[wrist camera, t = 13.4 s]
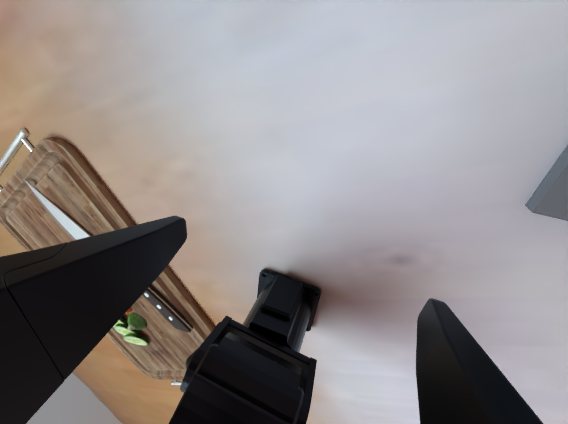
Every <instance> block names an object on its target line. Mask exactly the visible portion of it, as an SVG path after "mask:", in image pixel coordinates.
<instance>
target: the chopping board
mask: <svg viewBox="0 0 568 424" xmlns="http://www.w3.org/2000/svg"><path fill="white" fill-rule="evenodd" d="M28 135H29V133H28V132H27V130H26V129H25V128H22V129H20V131H19V132H18V134H17V135H16V137H15V138H14V140H13V141H12V143H11V144H10V146H9V147H8V149H7V151H6V152H5V154H4V155H3V157H2V158H1V160H0V174H1V173H2V171H3V170H4V169H5V167H6V166H7V164H8V163H9V162H10V160H11V159H12V157H13V156H14V155H15V153H16V152H17V150H18V149H19V148H20V146H21V145H22V143H24V144H25V145H26V146H27V147H28V149H29V150H30V151H31V153H30V154H29V156H28V157H27V158H26V160H25V161H24V162H23V163H22V165H21V166H20V167H19V169H18V170H17V171H16V172H15V174H14V175H13V176H12V177H11V179H10V180H9V181H8V183H7V184H6V185H5V186H4V188H2V187H1V186H0V223H1V224H2V226H3V227H4V228H5V229H6V230H7V231H8V232H9V233H10V234H11V235H12V236H13V237H14V238H15V239H16V240H17V241H18V243H19V244H20V245H21V246H22V247H23V248H24V249H25V250H26V251H32V250H36V249H40V248H45V247H49V246H53V245H57V244H61V243H65V242H70V241H74V240H78V239H82V238H86V237H90V236H94V235H98V234H102V233H106V232H110V231H114V230H118V229H122V228H126V227H130V226H135V225H134V223H133V222H132V221H131V219H130V218H129V217H128V216H127V214H126V213H125V212H124V210H123V209H122V208H121V207H120V205H119V204H118V203H117V201H116V200H115V199H114V198H113V196H112V195H111V194H110V192H109V191H108V190H107V189H106V187H105V186H104V185H103V183H102V182H101V181H100V180H99V178H98V177H97V176H96V174H95V173H94V172H93V171H92V169H91V168H90V167H89V165H88V164H87V163H86V162H85V160H84V159H83V158H82V156H81V155H80V154H79V153H78V152H77V151H76V150H75V149H74V148H73V147H72V146H71V145H70V144H68V143H67V142H65V141H64V140H62V139H59V138H54V137H51V138H47V139H44V140H42V141H40V142H39V143H38V144H37V145H36V147H35V148H34V147H33V146H32V145H31V144H30V142H29V141H28V140H27V139H26V138H27V136H28ZM214 328H215V327H214V326H213V325H212V323H211V322H210V321H209V320H208V318H207V317H206V316H205V314H204V313H203V312H202V311H201V309H200V308H199V307H198V305H197V304H196V303H195V302H194V300H193V299H192V298H191V296H190V295H189V294H188V293H187V291H186V290H185V289H184V287H183V286H182V285H181V284H180V282H179V281H178V280H177V278H176V277H175V276H174V275H173V273H172V272H171V271H170V269H169V268H168V267H166V268H165V269H164V271H163V272H162V273H161V274H160V275H159V276H158V278H157V279H156V280H155V281H154V282H153V283H152V284H151V285H150V286H149V287H148V289H147V290H146V291H145V292H144V293H143V294H142V295H141V296H140V297H139V299H138V300H137V301H136V302H135V303H134V304H133V305H132V306H131V307H130V309H129V310H128V311H127V312H126V313H125V314H124V315H123V316H122V317H121V318H120V320H119V321H118V322H117V323H116V324H115V325H114V326H113V327H112V328H111V330H110V331H109V332H108V333H107V334H106V335H107V336H108V337H109V338H110V339H111V340H112V341H113V342H114V343H115V345H116V346H117V347H118V348H119V349H120V350H121V351H122V352H123V353H124V354H125V355H126V356H127V357H128V358H129V359H130V360H131V361H132V362H133V363H134V365H135V366H136V367H137V368H138V369H139V370H141V371H142V372H143V373H144V374H146V375H147V376H149V377H151V378H154V379H162V380H173V381H172V385H178V386H181V384H182V381H177V380H183V378H184V376H185V373H186V365H185V363H186V360H187V359H188V357H189V356H190V355H191V354H192V353H193V352H194V351H195V350H197V349H198V348H199V347H200V345H201V344H202V343H203V342H204V340H205V339H206V338H207V337H208V336H209V334H210V333H211V332H212V331H213V329H214Z"/></svg>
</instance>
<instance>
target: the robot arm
mask: <svg viewBox="0 0 568 424" xmlns="http://www.w3.org/2000/svg"><path fill="white" fill-rule="evenodd" d="M186 238H187V229H186V221H185V219H184V218H181V217H178V216H171V217H167V218H163V219H159V220H155V221H151V222H147V223H143V224H139V225H135V226H130V227H126V228H122V229H118V230H114V231H110V232H106V233H102V234H98V235H94V236H90V237H86V238H82V239H78V240H74V241H70V242H65V243H61V244H57V245H53V246H49V247H45V248H40V249H36V250H32V251H27V252H22V253H17V254H12V255H7V256H2V257H0V424H26V423H27V422H28V421H29V420H30V418H31V417H32V416H33V415H34V414H35V413H36V412H37V411H38V410H39V408H40V407H41V406H42V405H43V404H44V403H45V402H46V401H47V400H48V398H49V397H50V396H51V395H52V394H53V393H54V392H55V391H56V390H57V388H58V387H59V386H60V385H61V384H62V383H63V382H64V379H66V378H67V377H68V376H69V375H70V374H71V373H72V372H73V371H74V369H75V368H76V367H77V366H78V365H79V364H80V363H81V362H82V361H83V359H84V358H85V357H86V356H87V355H88V354H89V353H90V352H91V351H92V349H93V348H94V347H95V346H96V345H97V344H98V343H99V342H100V341H101V340H102V338H103V337H104V336H105V335H106V334H107V333H108V332H109V331H110V330H111V328H112V327H113V326H114V325H115V324H116V323H117V322H118V321H119V320H120V318H121V317H122V316H123V315H124V314H125V313H126V312H127V311H128V310H129V309H130V307H131V306H132V305H133V304H134V303H135V302H136V301H137V300H138V299H139V297H140V296H141V295H142V294H143V293H144V292H145V291H146V290H147V289H148V287H149V286H150V285H151V284H152V283H153V282H154V281H155V280H156V279H157V278H158V276H159V275H160V274H161V273H162V272H163V271H164V269H165V268H166V267H167V265H168V264H169V263H170V261H171V260H172V259H173V257H174V256H175V254H176V253H177V252H178V250H179V249H180V248H181V246H182V245H183V244H184V242H185V241H186ZM316 292H317V293H316ZM320 295H321V290H320V289H319V288H318V287H315V286H312V285H309V284H306V283H303V282H300V281H297V280H295V279H292V278H289V277H286V276H283V275H280V274H277V273H274V272H271V271H269V270H265V269H263V270H261V272H260V275H259V285H258V295H257V300H256V302H255V304H254V305H253V307H252V309H251V311H250V312H249V314H248V316H247V318H246V320H245V321H244V323H243V325H242V324H240V323H238V322H236V321H234V320H232V318H231V317H229V316H226V317H225V318H224V319H223V320H222V322H219V323H218V325H217V326H216V327H215V328H214V329H213V331H212V332H211V333H210V334H209V336H208V337H207V338H206V339H205V340H204V342H203V343H202V344H201V345H200V347H199V348H198V349H197V350H195V351H194V352H193V353H192V354H191V355H190V356H189V357H188V359H187V360H186V363H185V365H186V373H185V376H184V378H183V381H182V384H181V388H180V390H181V391H182V392H184V394H183V396H182V398H181V400H180V402H179V404H178V406H177V408H176V410H175V412H174V414H173V416H172V418H171V420H170V422H169V424H306V421H307V418H308V414H309V409H310V404H311V398H312V391H313V384H314V377H315V369H316V362H317V360H315V359H313V358H309V357H307V356H305V355H303V354H301V353H299V351H300V348H301V345H302V342H303V338H304V335H305V332H306V331H310V330H311V326H312V323H313V319H314V316H315V312H316V309H317V305H318V302H319V299H320ZM416 377H417V389H418V401H419V413H420V424H543V423H542V421H541V420H540V419H539V418H538V416H537V415H536V414H535V413H534V412H533V410H532V409H531V408H530V407H529V405H528V404H527V403H526V402H525V400H524V399H523V398H522V397H521V396H520V394H519V393H518V392H517V391H516V389H515V388H514V387H513V386H512V384H511V383H510V382H509V381H508V380H507V378H506V377H505V376H504V375H503V373H502V372H501V371H500V370H499V368H498V367H497V366H496V365H495V364H494V362H493V361H492V360H491V359H490V357H489V356H488V355H487V354H486V353H485V351H484V350H483V349H482V348H481V346H480V345H479V344H478V343H477V341H476V340H475V339H474V338H473V337H472V335H471V334H470V333H469V332H468V330H467V329H466V328H465V327H464V325H463V324H462V323H461V322H460V321H459V319H458V318H457V317H456V316H455V314H454V313H453V312H452V311H451V309H450V308H449V307H448V306H447V305H446V304H445V303H444V302H442V301H439V300H436V299H429V300H428V301H427V303H426V304H425V306H424V308H423V309H422V311H421V312H420V314H419V316H418V321H417V348H416Z"/></svg>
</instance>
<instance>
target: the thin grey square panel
mask: <svg viewBox="0 0 568 424" xmlns="http://www.w3.org/2000/svg"><path fill="white" fill-rule="evenodd" d="M525 206H526V207H527V208H528V209H530V210H531V211H532V212H533V213H537V214H541V215H545V216H549V217H554V218H558V219H562V220H566V221H568V146H567V147H566V148H565V150H564V151H563V153H562V154H561V156H560V157H559V158H558V160H557V161H556V163H555V164H554V165H553V167H552V168H551V170H550V171H549V173H548V174H547V175H546V177H545V178H544V180H543V181H542V182H541V184H540V185H539V187H538V188H537V190H536V191H535V192H534V194H533V195H532V197H531V198H530V199H529V201H528V202H527V204H526V205H525Z"/></svg>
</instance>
